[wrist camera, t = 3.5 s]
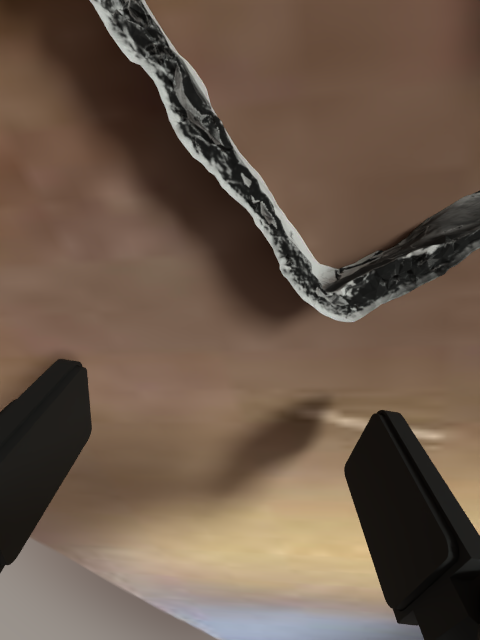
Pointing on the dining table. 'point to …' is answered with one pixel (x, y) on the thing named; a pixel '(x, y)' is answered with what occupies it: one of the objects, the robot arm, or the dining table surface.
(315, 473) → the dining table surface
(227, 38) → the dining table surface
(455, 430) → the dining table surface
